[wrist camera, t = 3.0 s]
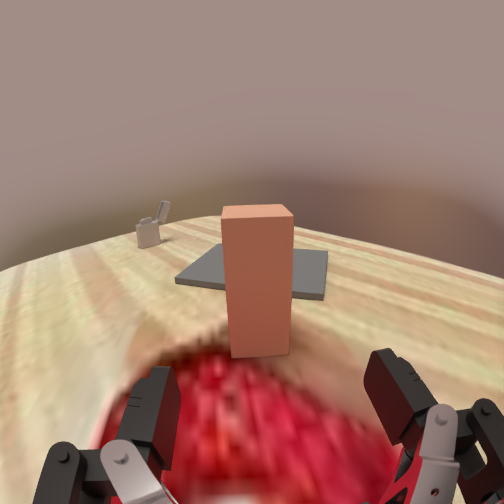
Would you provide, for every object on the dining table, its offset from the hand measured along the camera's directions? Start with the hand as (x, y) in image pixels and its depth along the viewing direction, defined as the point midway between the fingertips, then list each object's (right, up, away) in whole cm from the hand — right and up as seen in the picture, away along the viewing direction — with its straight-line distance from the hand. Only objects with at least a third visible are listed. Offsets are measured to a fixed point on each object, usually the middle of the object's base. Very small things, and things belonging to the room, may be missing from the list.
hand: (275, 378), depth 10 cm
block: (0, -3, +13) cm, 13 cm away
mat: (0, +3, +27) cm, 27 cm away
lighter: (-19, +6, +40) cm, 44 cm away
